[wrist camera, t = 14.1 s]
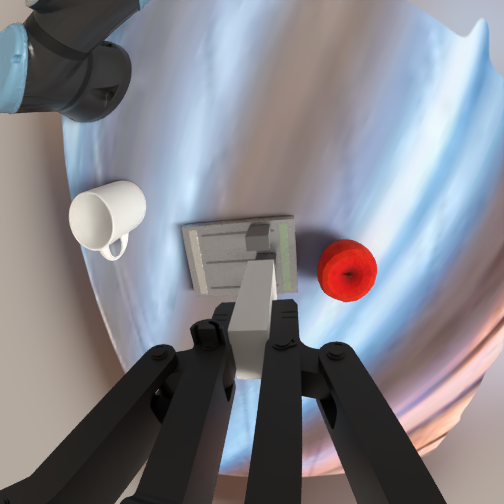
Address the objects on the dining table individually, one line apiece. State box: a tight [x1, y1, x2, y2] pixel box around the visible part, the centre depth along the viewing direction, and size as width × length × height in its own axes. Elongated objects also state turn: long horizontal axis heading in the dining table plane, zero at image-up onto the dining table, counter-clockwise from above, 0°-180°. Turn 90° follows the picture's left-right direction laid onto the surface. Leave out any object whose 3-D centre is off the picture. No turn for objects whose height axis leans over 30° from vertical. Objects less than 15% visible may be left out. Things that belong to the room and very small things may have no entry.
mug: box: [69, 180, 146, 261], centre depth 39 cm, size 9×12×11 cm
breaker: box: [245, 224, 271, 251], centre depth 38 cm, size 2×3×5 cm, turn 96°
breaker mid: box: [255, 253, 277, 279], centre depth 40 cm, size 2×3×5 cm, turn 96°
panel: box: [182, 216, 298, 296], centre depth 44 cm, size 12×17×2 cm
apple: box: [317, 240, 377, 302], centre depth 40 cm, size 9×9×8 cm
